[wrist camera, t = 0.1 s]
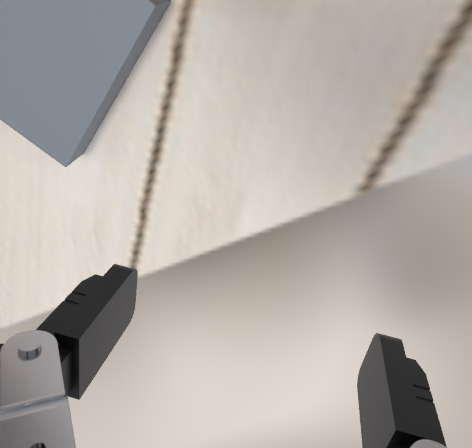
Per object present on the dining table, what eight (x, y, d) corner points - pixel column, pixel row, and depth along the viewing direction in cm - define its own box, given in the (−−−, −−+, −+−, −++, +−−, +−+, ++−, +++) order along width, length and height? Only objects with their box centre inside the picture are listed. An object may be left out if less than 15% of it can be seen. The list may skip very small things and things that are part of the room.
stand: (-31, -175, 27) (-69, -187, 24) (170, 1, 30) (155, 5, 27) (-76, 34, 35) (-107, 41, 33) (83, 153, 39) (65, 167, 36)
